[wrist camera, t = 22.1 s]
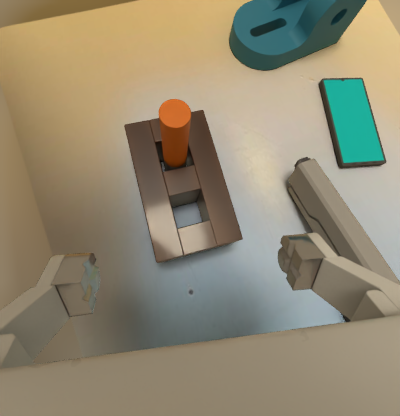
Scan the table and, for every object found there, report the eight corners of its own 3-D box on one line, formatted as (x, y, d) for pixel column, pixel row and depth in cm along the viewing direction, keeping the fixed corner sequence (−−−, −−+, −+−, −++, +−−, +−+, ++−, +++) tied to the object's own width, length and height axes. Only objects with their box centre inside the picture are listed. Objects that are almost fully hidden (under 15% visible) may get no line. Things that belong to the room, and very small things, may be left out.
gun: (369, 365, 30) (442, 383, 21) (273, 195, 40) (295, 158, 31) (385, 357, 31) (464, 371, 22) (286, 191, 41) (313, 153, 32)
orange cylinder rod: (167, 183, 35) (162, 130, 21) (163, 164, 35) (155, 101, 21) (187, 178, 35) (194, 124, 21) (182, 160, 35) (186, 96, 22)
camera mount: (303, -2, 45) (341, -81, 34) (336, 42, 43) (386, -27, 33) (217, 29, 41) (231, -48, 31) (249, 79, 40) (275, 15, 29)
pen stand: (160, 263, 32) (156, 262, 26) (132, 147, 35) (124, 124, 29) (231, 243, 33) (243, 238, 28) (198, 134, 37) (203, 109, 31)
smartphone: (342, 166, 37) (321, 78, 40) (339, 168, 37) (318, 82, 41) (387, 163, 38) (363, 77, 41) (382, 165, 38) (359, 81, 41)
